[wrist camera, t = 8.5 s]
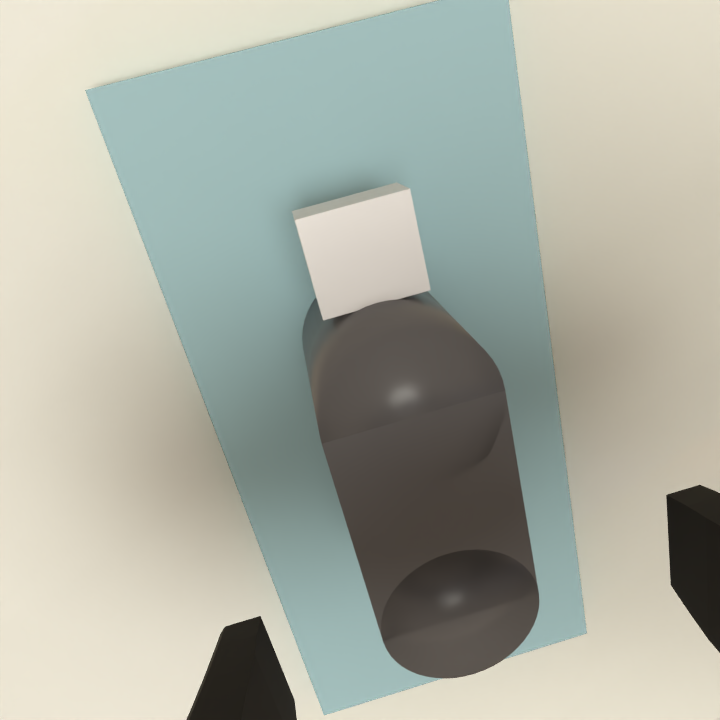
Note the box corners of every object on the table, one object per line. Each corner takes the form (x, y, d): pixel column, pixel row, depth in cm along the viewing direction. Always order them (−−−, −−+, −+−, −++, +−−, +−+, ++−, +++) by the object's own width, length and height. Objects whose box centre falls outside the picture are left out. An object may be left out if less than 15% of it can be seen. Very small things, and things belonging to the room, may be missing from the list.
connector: (409, 167, 14) (471, 188, 10) (481, 528, 18) (548, 650, 14) (260, 208, 14) (260, 246, 10) (367, 563, 18) (399, 696, 14)
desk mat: (493, -10, 14) (506, -18, 13) (575, 615, 21) (586, 633, 20) (94, 91, 13) (85, 90, 12) (321, 694, 21) (324, 715, 20)
